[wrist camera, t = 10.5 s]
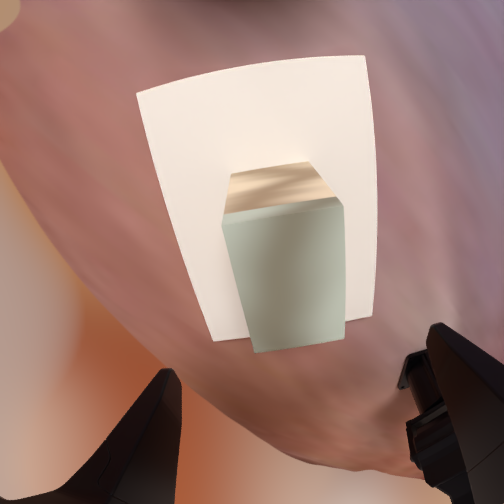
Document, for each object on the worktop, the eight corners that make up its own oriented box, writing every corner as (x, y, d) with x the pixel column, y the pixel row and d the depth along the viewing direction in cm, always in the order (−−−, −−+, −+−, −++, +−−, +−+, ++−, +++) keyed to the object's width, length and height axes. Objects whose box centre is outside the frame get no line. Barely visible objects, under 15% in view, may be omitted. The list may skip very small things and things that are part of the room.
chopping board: (367, 306, 24) (371, 315, 23) (214, 331, 25) (213, 341, 24) (357, 57, 14) (364, 55, 13) (142, 92, 15) (136, 93, 14)
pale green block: (308, 161, 17) (343, 205, 11) (318, 263, 20) (344, 338, 14) (231, 173, 17) (221, 225, 11) (252, 273, 20) (254, 353, 14)
